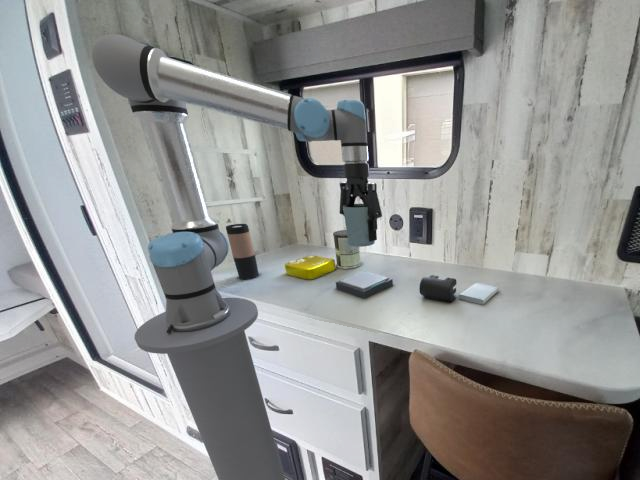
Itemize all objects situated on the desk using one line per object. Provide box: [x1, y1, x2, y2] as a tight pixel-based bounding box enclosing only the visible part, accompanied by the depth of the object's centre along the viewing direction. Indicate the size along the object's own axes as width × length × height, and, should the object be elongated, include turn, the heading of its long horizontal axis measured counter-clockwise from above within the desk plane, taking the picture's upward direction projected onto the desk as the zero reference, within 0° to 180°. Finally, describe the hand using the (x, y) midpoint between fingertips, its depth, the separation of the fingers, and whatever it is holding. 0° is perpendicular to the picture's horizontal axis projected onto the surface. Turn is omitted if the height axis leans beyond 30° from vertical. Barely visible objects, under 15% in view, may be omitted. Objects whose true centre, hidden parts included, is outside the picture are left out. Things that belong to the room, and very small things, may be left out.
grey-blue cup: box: [343, 203, 376, 248], centre depth 98 cm, size 10×10×12 cm
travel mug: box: [225, 223, 260, 281], centre depth 117 cm, size 8×8×20 cm
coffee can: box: [332, 229, 362, 270], centre depth 129 cm, size 10×10×14 cm
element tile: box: [284, 254, 336, 281], centre depth 124 cm, size 15×15×5 cm
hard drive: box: [458, 282, 499, 305], centre depth 98 cm, size 2×8×12 cm
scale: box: [335, 271, 394, 300], centre depth 107 cm, size 14×14×3 cm
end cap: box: [418, 274, 458, 303], centre depth 96 cm, size 10×7×7 cm
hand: (361, 238), depth 99 cm, fingers closed on grey-blue cup, 9 cm apart
